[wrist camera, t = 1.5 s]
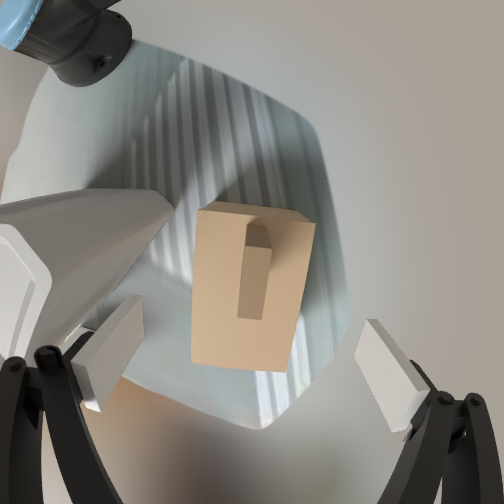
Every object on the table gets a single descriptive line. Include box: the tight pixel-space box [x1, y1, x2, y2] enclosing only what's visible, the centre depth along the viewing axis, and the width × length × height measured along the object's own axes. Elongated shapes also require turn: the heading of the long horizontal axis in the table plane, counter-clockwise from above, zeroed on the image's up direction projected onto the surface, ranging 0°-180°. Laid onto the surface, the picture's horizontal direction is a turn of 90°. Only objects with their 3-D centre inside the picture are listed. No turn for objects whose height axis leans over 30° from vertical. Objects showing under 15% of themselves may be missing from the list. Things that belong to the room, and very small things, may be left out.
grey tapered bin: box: [0, 189, 175, 370], centre depth 26 cm, size 19×15×28 cm
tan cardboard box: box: [191, 209, 316, 372], centre depth 27 cm, size 20×13×10 cm, turn 173°
